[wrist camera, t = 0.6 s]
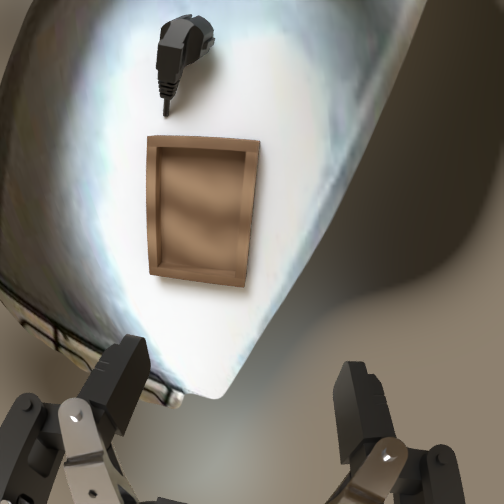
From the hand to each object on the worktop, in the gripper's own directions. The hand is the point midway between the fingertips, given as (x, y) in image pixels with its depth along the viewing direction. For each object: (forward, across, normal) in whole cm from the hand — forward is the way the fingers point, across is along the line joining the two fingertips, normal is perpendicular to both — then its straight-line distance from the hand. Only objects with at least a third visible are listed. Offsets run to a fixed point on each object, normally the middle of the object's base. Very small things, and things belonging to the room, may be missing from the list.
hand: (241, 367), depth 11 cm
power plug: (+26, +11, -15) cm, 32 cm away
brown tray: (+25, +8, +2) cm, 26 cm away
